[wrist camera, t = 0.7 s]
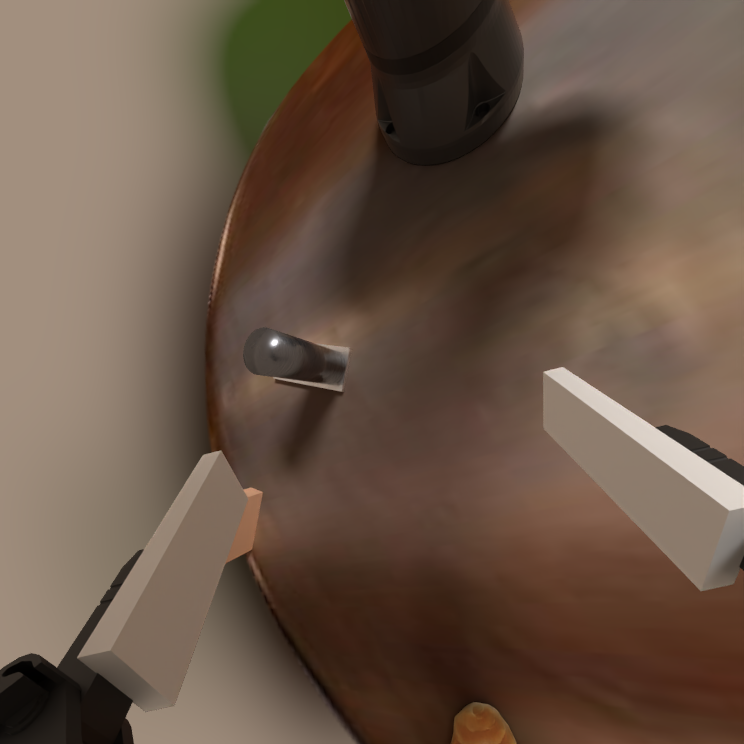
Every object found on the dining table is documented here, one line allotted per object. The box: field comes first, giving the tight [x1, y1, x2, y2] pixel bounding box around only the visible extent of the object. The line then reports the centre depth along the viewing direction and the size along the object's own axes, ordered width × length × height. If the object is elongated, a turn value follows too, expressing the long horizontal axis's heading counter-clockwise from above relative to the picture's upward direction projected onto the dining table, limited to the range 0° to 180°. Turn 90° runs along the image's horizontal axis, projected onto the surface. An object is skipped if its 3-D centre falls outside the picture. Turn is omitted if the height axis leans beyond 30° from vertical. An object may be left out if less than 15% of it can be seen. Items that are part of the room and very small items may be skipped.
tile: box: [225, 488, 263, 564], centre depth 35 cm, size 7×2×9 cm, turn 169°
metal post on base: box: [243, 328, 352, 392], centre depth 33 cm, size 5×10×12 cm, turn 79°
